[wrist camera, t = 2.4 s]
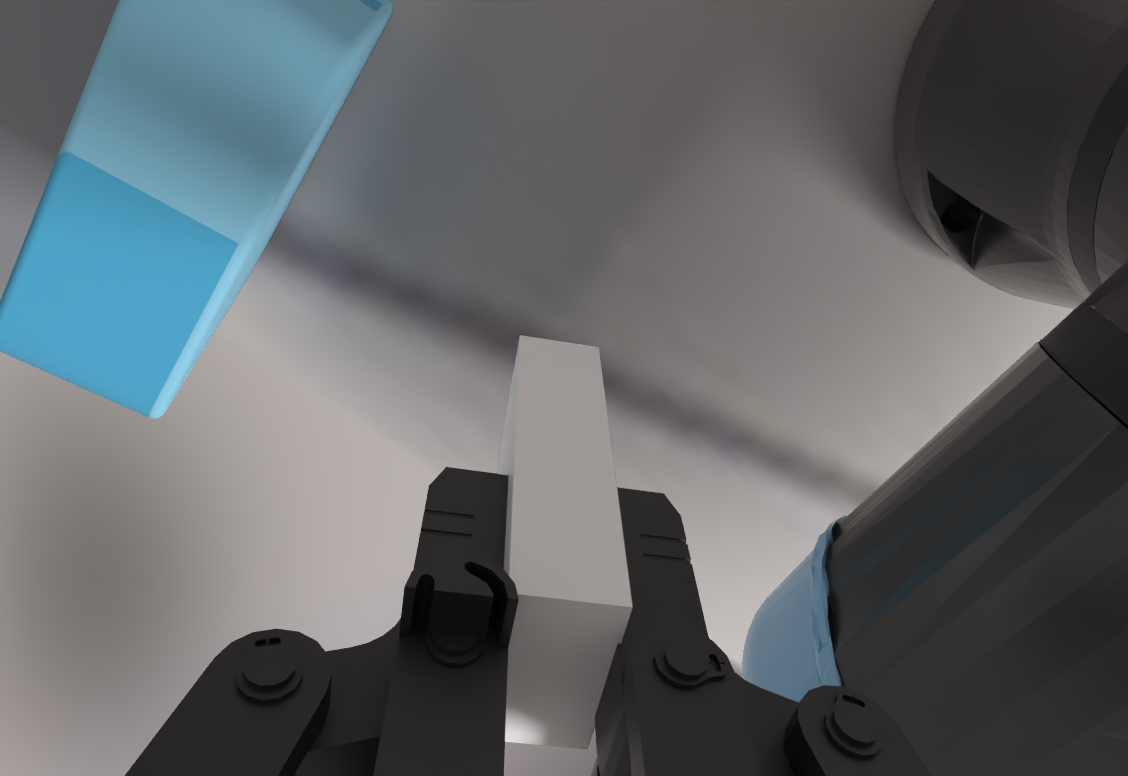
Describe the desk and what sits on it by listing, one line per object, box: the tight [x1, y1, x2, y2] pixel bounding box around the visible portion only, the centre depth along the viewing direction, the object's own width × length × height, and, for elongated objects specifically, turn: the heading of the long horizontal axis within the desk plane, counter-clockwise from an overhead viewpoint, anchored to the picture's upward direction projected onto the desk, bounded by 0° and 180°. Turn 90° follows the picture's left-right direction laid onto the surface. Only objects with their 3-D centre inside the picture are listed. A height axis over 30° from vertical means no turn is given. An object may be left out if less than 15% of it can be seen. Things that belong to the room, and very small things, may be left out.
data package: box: [0, 0, 394, 418], centre depth 25 cm, size 12×4×12 cm, turn 145°
